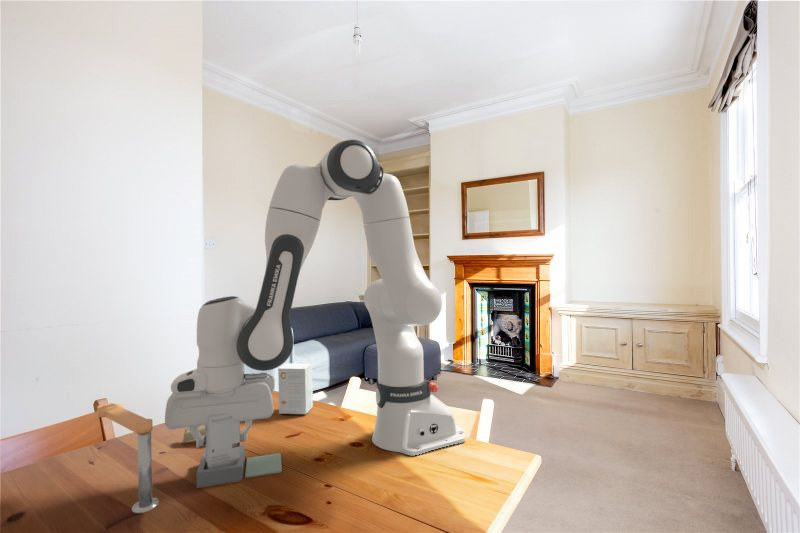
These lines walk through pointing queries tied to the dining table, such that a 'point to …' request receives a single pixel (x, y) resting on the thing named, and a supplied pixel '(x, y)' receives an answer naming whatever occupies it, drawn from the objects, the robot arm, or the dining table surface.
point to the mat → (263, 465)
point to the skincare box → (222, 441)
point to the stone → (189, 437)
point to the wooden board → (125, 418)
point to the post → (145, 475)
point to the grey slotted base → (220, 472)
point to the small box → (295, 388)
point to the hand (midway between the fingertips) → (222, 443)
